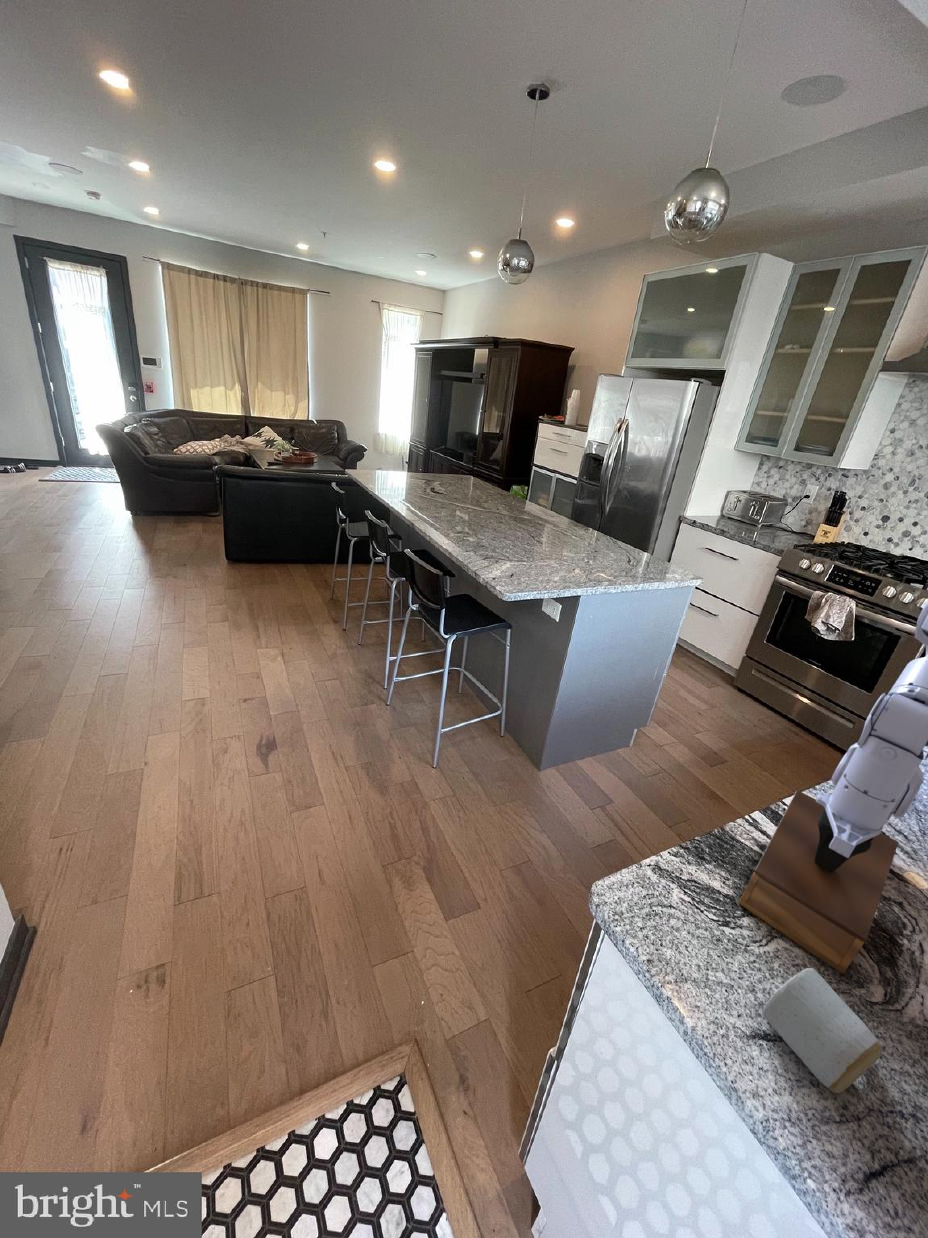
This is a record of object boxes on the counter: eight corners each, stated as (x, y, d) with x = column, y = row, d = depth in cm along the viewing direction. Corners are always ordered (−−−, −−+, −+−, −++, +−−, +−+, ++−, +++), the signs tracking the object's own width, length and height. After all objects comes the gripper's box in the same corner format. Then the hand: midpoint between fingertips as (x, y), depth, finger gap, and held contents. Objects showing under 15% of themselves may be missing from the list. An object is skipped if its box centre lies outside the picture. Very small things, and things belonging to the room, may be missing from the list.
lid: (795, 792, 77) (797, 789, 77) (896, 844, 70) (898, 842, 69) (753, 872, 68) (755, 870, 68) (864, 942, 61) (866, 940, 60)
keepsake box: (767, 847, 81) (781, 819, 79) (860, 902, 74) (878, 873, 72) (738, 903, 70) (753, 873, 68) (842, 974, 63) (863, 943, 61)
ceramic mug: (826, 1112, 49) (862, 1067, 46) (751, 1024, 56) (778, 979, 53) (880, 1063, 54) (916, 1020, 51) (805, 988, 61) (833, 945, 58)
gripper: (841, 747, 70) (802, 821, 75) (822, 791, 59) (777, 874, 65) (905, 775, 65) (858, 852, 71) (895, 828, 55) (841, 914, 60)
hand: (823, 865), depth 67 cm, fingers closed
